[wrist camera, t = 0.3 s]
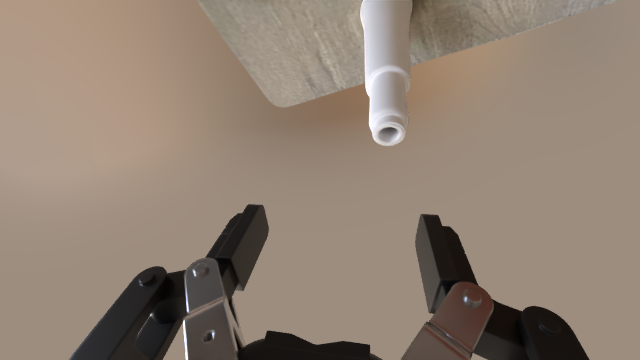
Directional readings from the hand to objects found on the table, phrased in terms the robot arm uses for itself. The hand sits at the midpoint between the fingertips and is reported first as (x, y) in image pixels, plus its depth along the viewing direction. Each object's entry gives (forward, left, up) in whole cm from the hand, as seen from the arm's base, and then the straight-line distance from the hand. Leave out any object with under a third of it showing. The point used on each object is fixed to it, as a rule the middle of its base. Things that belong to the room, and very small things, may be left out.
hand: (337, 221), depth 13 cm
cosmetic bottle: (+2, +2, -30) cm, 30 cm away
